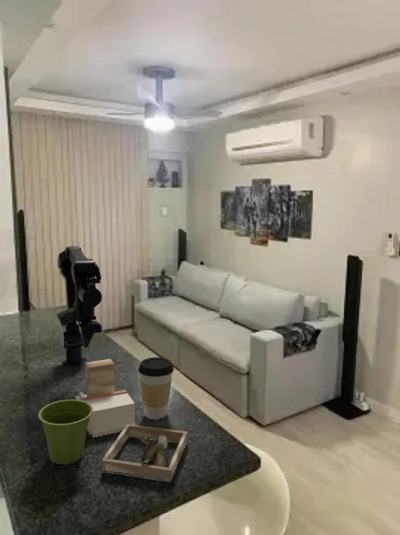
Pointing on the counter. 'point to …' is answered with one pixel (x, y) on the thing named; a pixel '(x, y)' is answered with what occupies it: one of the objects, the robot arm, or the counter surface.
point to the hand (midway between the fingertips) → (85, 347)
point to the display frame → (144, 468)
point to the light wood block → (99, 377)
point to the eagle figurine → (155, 451)
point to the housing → (109, 412)
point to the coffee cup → (155, 386)
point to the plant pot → (65, 429)
